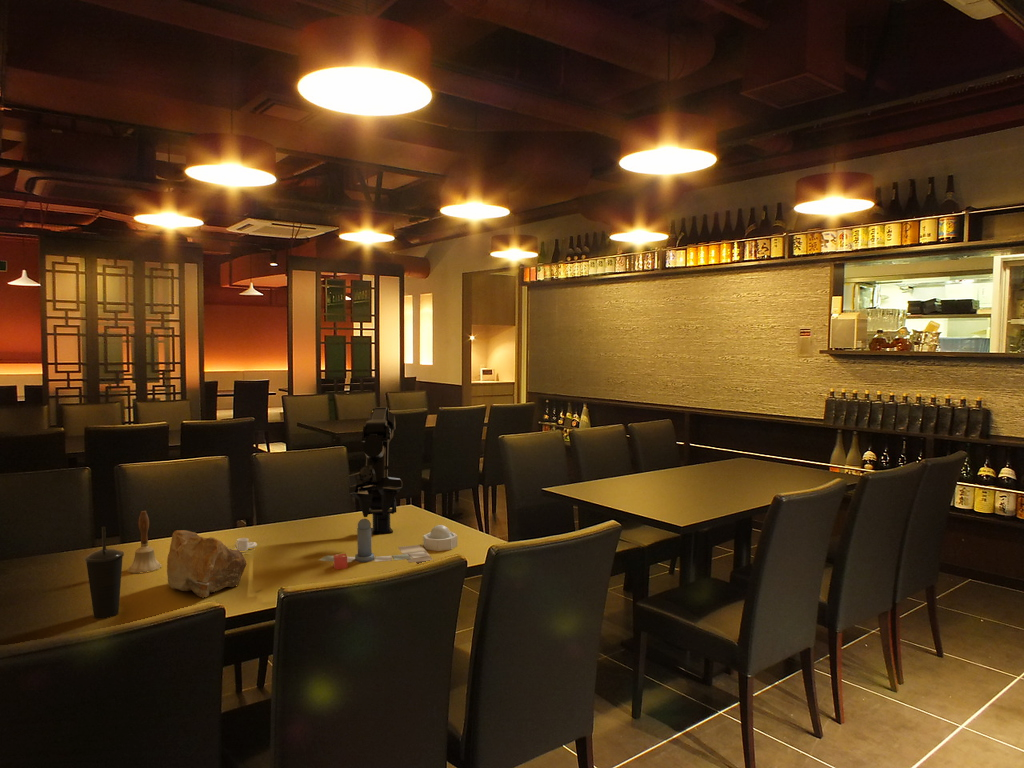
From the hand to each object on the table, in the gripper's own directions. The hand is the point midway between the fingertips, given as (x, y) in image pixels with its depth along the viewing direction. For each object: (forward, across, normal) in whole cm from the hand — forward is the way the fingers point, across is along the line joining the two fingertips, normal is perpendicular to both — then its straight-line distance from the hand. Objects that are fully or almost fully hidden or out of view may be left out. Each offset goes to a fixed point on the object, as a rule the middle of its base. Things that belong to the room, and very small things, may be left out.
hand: (374, 515), depth 204 cm
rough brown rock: (+19, -9, -43) cm, 48 cm away
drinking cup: (+24, -10, -66) cm, 71 cm away
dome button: (+9, +7, +19) cm, 22 cm away
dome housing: (+9, +7, +19) cm, 22 cm away
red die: (+15, +4, -14) cm, 21 cm away
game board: (+13, +4, -3) cm, 14 cm away
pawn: (+13, +4, -6) cm, 15 cm away
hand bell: (+13, -37, -49) cm, 63 cm away
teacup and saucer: (+9, -31, -21) cm, 38 cm away
